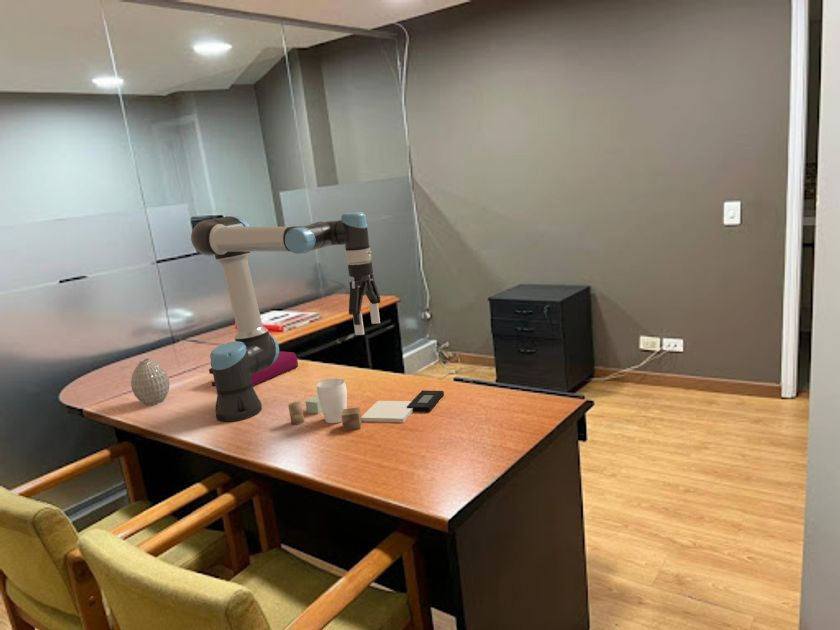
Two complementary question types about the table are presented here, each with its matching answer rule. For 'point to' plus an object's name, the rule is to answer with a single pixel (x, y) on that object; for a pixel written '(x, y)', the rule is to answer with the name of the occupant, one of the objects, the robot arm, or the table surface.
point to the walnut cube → (351, 419)
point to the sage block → (313, 405)
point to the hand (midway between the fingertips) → (368, 328)
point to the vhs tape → (426, 401)
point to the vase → (150, 382)
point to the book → (273, 368)
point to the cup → (332, 398)
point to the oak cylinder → (296, 413)
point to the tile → (388, 412)
